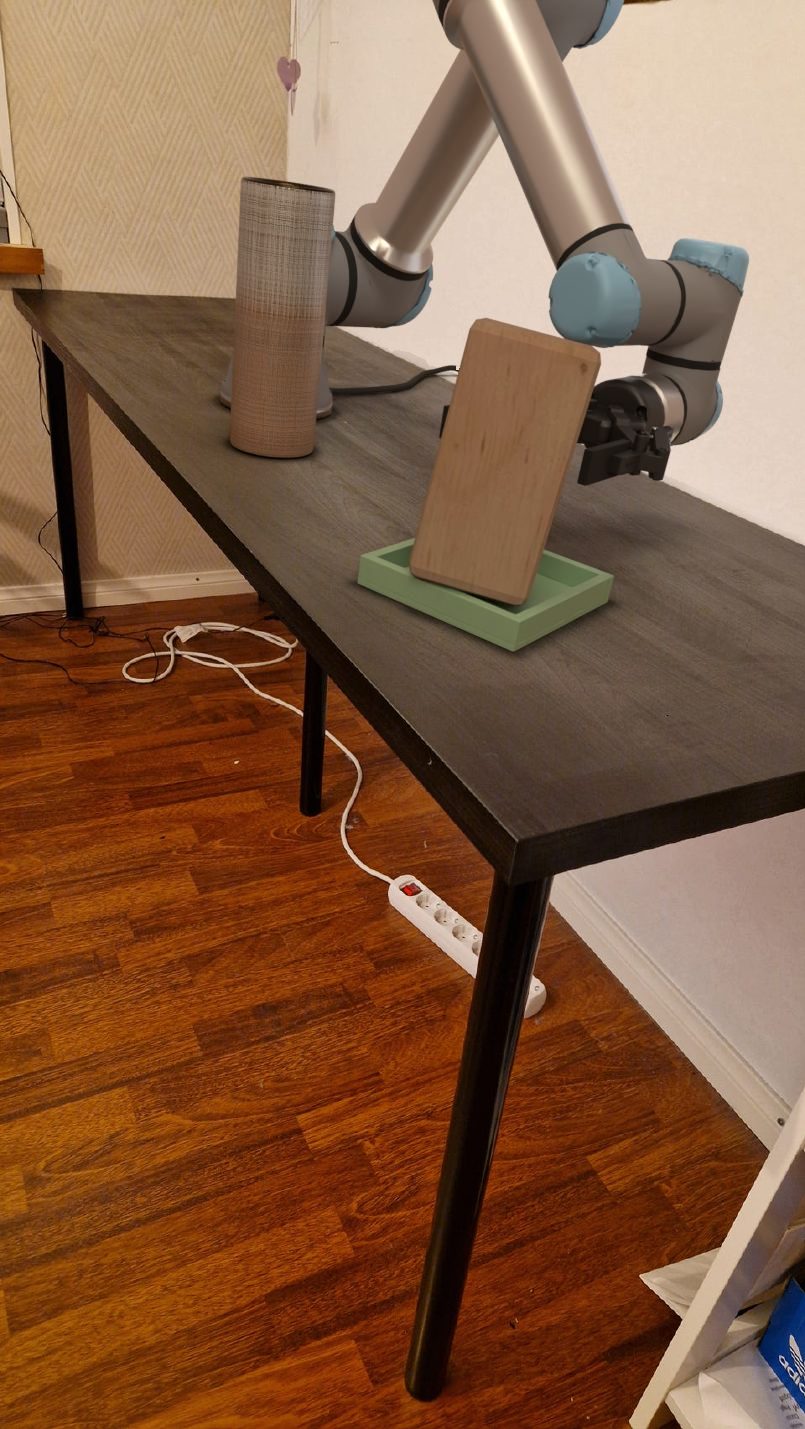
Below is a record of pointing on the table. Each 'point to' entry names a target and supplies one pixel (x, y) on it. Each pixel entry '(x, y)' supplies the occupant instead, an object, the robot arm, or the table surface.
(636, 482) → the table surface
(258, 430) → the vase
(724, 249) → the robot arm
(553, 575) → the green serving tray
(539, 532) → the wooden block
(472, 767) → the table surface
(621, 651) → the table surface
